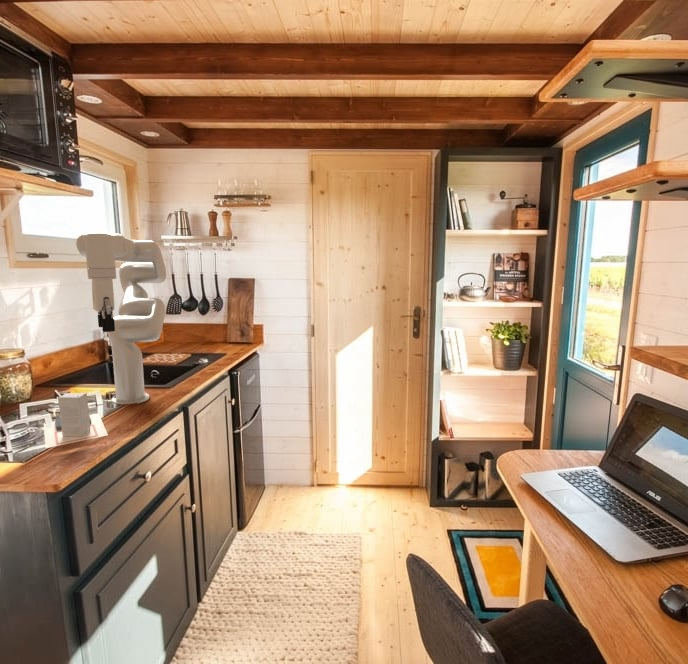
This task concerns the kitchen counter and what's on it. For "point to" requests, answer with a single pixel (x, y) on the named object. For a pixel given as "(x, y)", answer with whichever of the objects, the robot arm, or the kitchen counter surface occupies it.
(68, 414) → the skincare box
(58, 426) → the ink pad
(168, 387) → the kitchen counter surface
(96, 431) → the stamping board
